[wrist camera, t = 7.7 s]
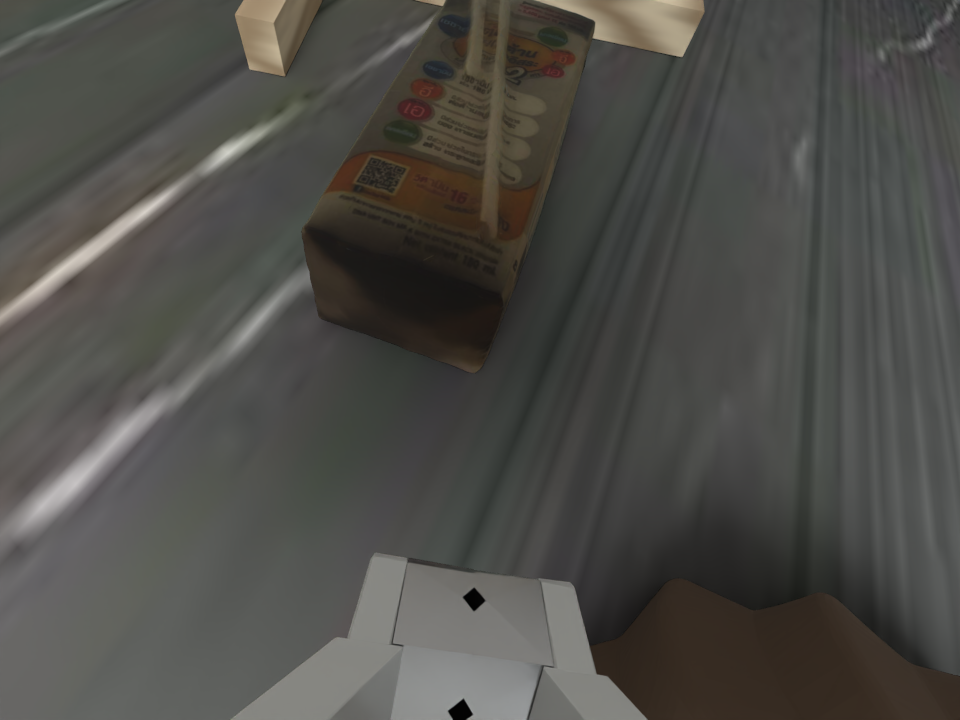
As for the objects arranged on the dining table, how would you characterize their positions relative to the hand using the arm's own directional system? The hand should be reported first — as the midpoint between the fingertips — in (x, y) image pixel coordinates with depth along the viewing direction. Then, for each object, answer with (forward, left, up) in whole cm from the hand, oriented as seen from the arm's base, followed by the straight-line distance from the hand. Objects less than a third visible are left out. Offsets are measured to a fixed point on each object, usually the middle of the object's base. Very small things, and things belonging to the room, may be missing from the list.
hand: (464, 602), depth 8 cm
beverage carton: (+2, -19, -12) cm, 23 cm away
